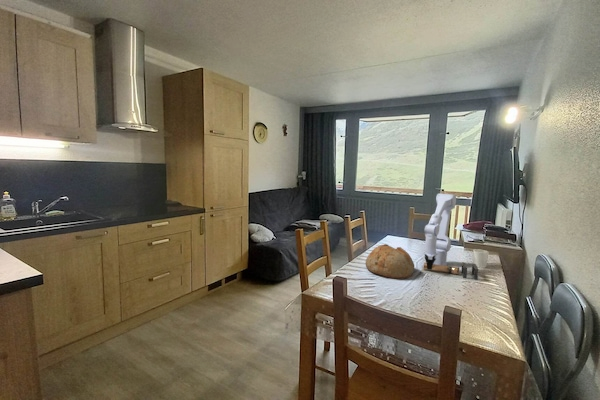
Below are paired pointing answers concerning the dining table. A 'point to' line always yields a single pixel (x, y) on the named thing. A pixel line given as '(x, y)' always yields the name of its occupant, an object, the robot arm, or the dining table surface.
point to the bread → (390, 262)
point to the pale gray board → (469, 275)
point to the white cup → (480, 258)
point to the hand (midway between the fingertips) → (429, 267)
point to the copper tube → (443, 269)
